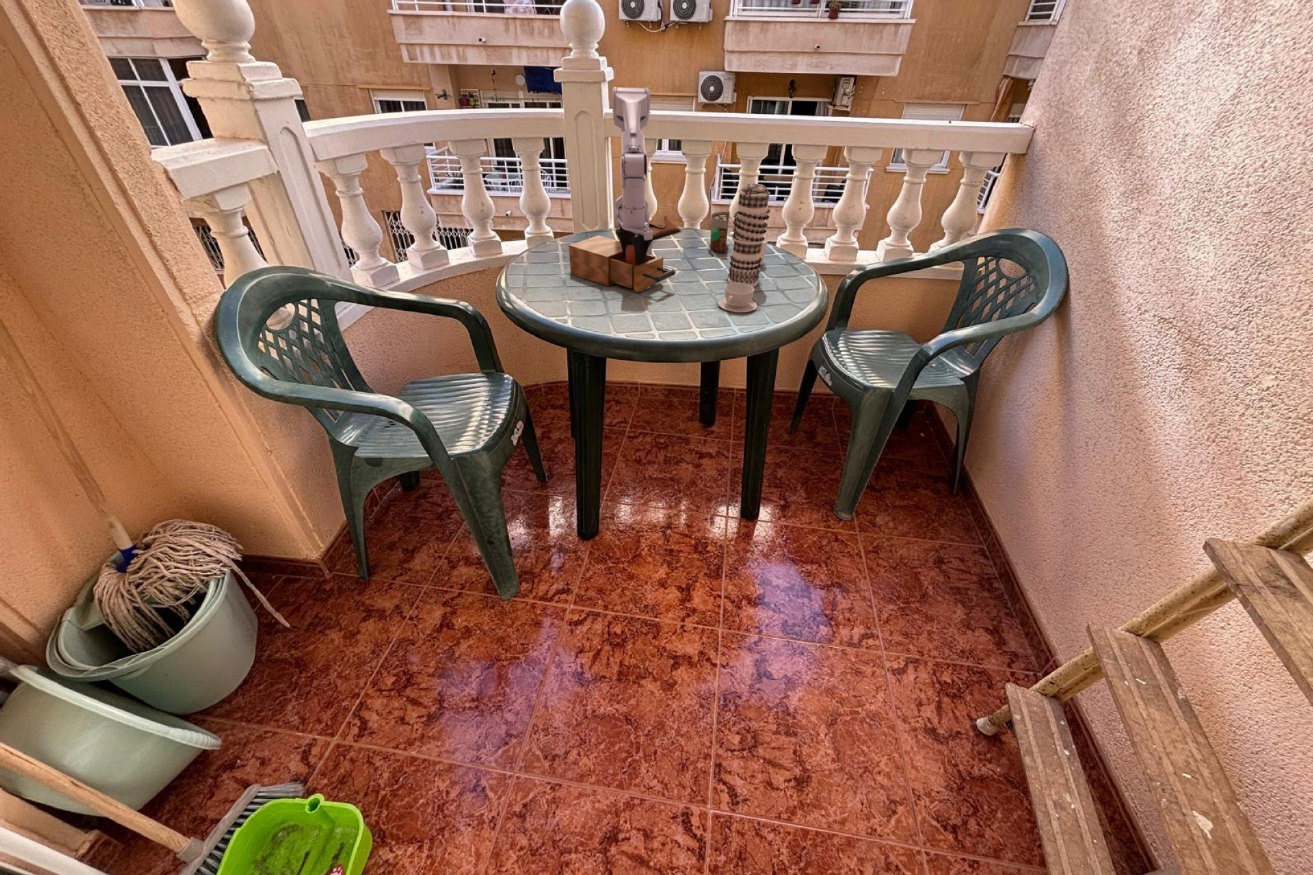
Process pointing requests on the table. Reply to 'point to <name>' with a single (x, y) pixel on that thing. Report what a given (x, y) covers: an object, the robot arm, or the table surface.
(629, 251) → the block
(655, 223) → the sunglasses case
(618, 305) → the table surface
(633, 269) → the drawer
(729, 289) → the teacup
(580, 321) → the table surface
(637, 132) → the robot arm
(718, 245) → the food container
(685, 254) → the table surface
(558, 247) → the table surface
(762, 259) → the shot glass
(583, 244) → the cabinet
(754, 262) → the decorative candle
